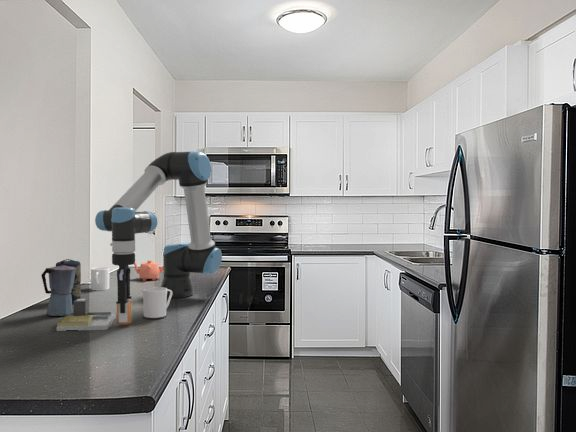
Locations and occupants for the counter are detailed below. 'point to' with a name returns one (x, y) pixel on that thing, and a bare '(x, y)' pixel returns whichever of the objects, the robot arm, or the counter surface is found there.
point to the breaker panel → (86, 321)
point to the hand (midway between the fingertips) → (124, 319)
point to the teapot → (148, 270)
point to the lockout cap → (127, 313)
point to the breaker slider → (80, 307)
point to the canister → (77, 280)
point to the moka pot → (59, 289)
